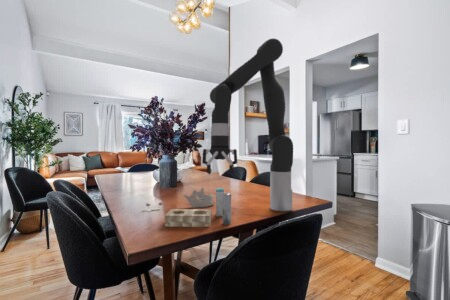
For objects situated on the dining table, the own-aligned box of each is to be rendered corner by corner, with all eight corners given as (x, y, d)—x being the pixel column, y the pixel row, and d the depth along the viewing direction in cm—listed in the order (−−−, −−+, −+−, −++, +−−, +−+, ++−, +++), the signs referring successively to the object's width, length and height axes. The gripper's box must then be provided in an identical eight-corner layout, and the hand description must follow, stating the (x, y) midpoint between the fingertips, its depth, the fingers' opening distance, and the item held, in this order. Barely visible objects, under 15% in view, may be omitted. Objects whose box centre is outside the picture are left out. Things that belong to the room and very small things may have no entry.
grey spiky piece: (210, 207, 107) (202, 186, 108) (190, 215, 110) (182, 194, 111) (219, 200, 120) (211, 181, 120) (200, 207, 122) (193, 189, 123)
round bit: (231, 221, 90) (231, 193, 90) (231, 224, 87) (231, 194, 86) (222, 221, 90) (222, 193, 90) (222, 224, 87) (222, 194, 87)
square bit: (224, 214, 100) (224, 188, 100) (223, 216, 97) (223, 189, 97) (216, 213, 100) (216, 188, 100) (215, 216, 97) (215, 189, 97)
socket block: (211, 219, 93) (211, 209, 92) (209, 226, 85) (209, 215, 84) (170, 219, 93) (170, 209, 93) (165, 226, 85) (165, 215, 85)
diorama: (143, 214, 101) (143, 206, 101) (145, 200, 127) (145, 193, 127) (165, 212, 104) (165, 204, 104) (163, 198, 129) (163, 192, 129)
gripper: (237, 135, 101) (236, 173, 102) (203, 135, 102) (203, 172, 102) (237, 134, 94) (237, 175, 94) (201, 134, 94) (201, 175, 95)
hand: (219, 174), depth 98 cm, fingers open, 8 cm apart
